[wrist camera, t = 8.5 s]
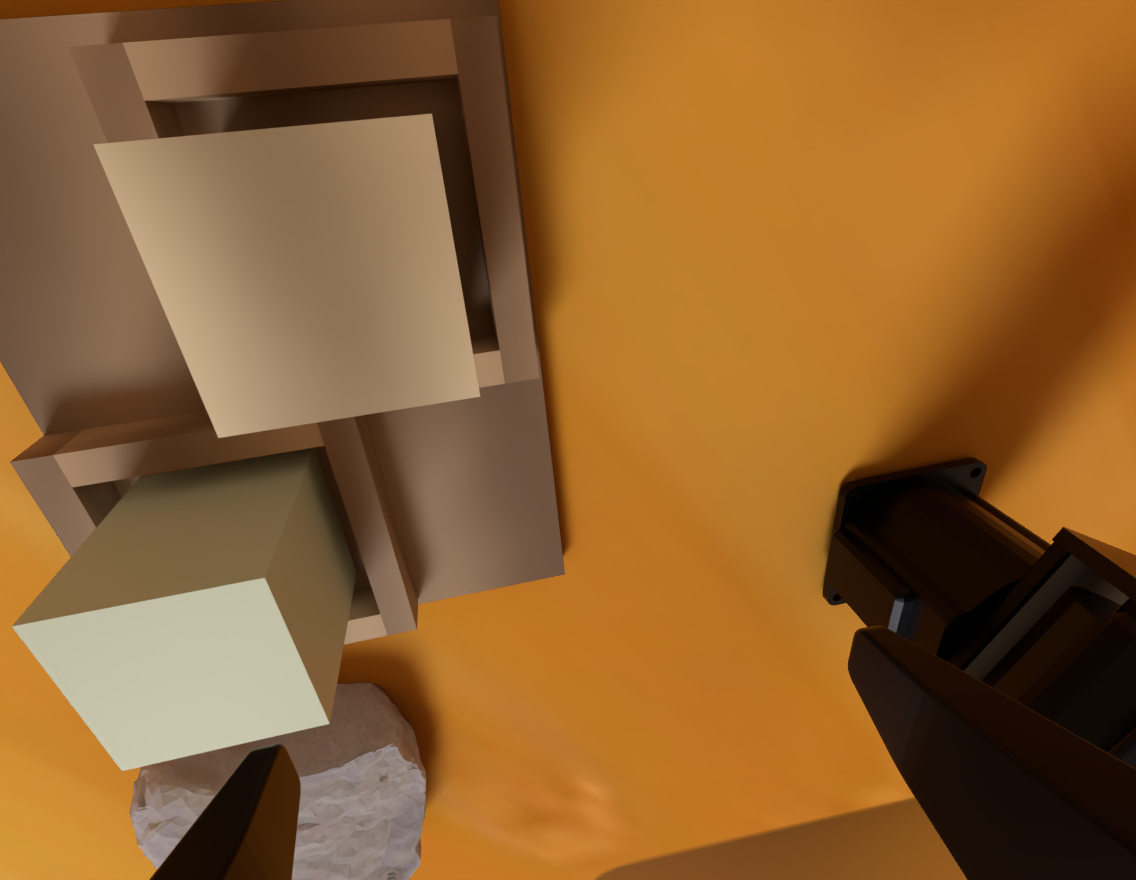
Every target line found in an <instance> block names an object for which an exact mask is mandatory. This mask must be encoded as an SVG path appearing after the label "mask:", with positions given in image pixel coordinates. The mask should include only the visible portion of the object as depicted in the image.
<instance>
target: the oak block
mask: <svg viewBox="0 0 1136 880" xmlns="http://www.w3.org/2000/svg"><path fill="white" fill-rule="evenodd" d="M93 145H94V147H95V150H96V152H97V154H98V157H99V159H100V161H101V164H102V166H103V169H104V171H105V173H106V176H107V178H108V180H109V183H110V185H111V187H112V190H113V192H114V194H115V197H116V199H117V201H118V204H119V206H120V208H121V211H122V213H123V215H124V218H125V220H126V222H127V225H128V227H129V230H130V232H131V234H132V237H133V239H134V241H135V244H136V246H137V248H138V251H139V253H140V255H141V258H142V260H143V262H144V265H145V267H146V269H147V272H148V274H149V276H150V279H151V281H152V283H153V286H154V288H155V290H156V293H157V295H158V298H159V300H160V302H161V305H162V307H163V309H164V312H165V314H166V316H167V319H168V321H169V323H170V326H171V328H172V330H173V333H174V335H175V337H176V340H177V342H178V344H179V347H180V349H181V351H182V354H183V356H184V358H185V361H186V363H187V366H188V368H189V370H190V373H191V375H192V377H193V380H194V382H195V384H196V387H197V389H198V391H199V394H200V396H201V398H202V401H203V403H204V405H205V408H206V410H207V412H208V415H209V417H210V419H211V422H212V424H213V426H214V429H215V431H216V434H217V436H218V438H222V437H228V436H235V435H241V434H247V433H254V432H260V431H266V430H273V429H279V428H285V427H292V426H298V425H304V424H311V423H317V422H323V421H330V420H336V419H342V418H349V417H355V416H361V415H368V414H374V413H380V412H387V411H393V410H399V409H406V408H412V407H418V406H425V405H431V404H437V403H444V402H450V401H456V400H463V399H469V398H475V397H480V392H479V386H478V380H477V374H476V368H475V362H474V356H473V350H472V345H471V339H470V333H469V327H468V321H467V315H466V309H465V304H464V298H463V292H462V286H461V280H460V274H459V269H458V263H457V257H456V251H455V245H454V239H453V234H452V228H451V222H450V216H449V210H448V204H447V199H446V193H445V187H444V181H443V175H442V170H441V164H440V158H439V152H438V146H437V140H436V135H435V129H434V123H433V117H432V114H422V115H411V116H400V117H389V118H378V119H367V120H356V121H345V122H334V123H323V124H312V125H301V126H290V127H279V128H268V129H257V130H246V131H235V132H224V133H213V134H202V135H191V136H180V137H169V138H159V139H148V140H137V141H126V142H115V143H104V144H93Z"/></svg>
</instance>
